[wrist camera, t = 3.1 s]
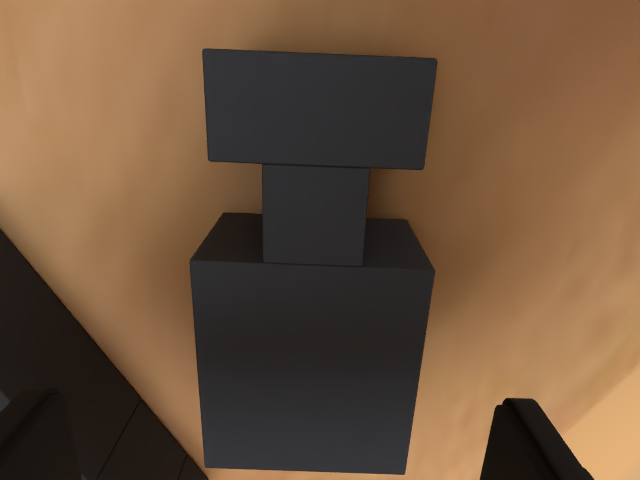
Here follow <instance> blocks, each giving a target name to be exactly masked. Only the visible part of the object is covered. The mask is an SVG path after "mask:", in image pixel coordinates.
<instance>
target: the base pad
mask: <svg viewBox="0 0 640 480" xmlns="http://www.w3.org/2000/svg"><path fill="white" fill-rule="evenodd" d="M26 387H53V388H57V389H58V391H59V393H60V395H64V396H65V397H66V399H67V403H68V408H69V414H70V419H71V424H72V429H73V435H74V440H75V445H76V451H77V456H78V461H79V466H80V472H81V477H82V480H208V479H207V477H206V476H205V475H204V474H203V473H202V471H201V470H200V469H199V468H198V467H197V465H196V464H195V463H194V462H193V461H192V459H191V458H190V457H189V456H188V455H186V452H185V451H184V450H183V449H182V448H181V446H180V445H179V444H178V443H177V442H176V441H175V439H174V438H173V437H172V436H171V435H170V433H169V432H168V431H167V430H166V429H165V427H164V426H163V425H162V424H161V423H160V421H159V420H158V419H157V418H156V417H155V415H154V414H153V413H152V412H151V411H150V409H149V408H148V407H147V406H146V405H145V403H144V402H143V401H142V400H140V397H139V396H138V394H137V393H136V392H135V391H134V390H133V388H132V387H131V386H130V385H129V384H128V382H127V381H126V380H125V379H124V378H123V376H122V375H121V374H120V373H119V372H118V370H117V369H116V368H115V367H114V366H113V364H112V363H111V362H110V361H109V360H108V358H107V357H106V356H105V355H104V354H103V352H102V351H101V350H100V349H99V348H98V346H97V345H96V344H95V343H94V342H93V340H92V339H91V338H90V337H89V336H88V334H87V333H86V332H85V331H84V330H83V328H82V327H81V326H80V325H79V324H78V322H77V321H76V320H75V319H74V318H73V316H72V315H71V314H70V313H69V312H68V311H67V309H66V308H65V307H64V306H63V305H62V303H61V302H60V301H59V300H58V299H57V297H56V296H55V295H54V294H53V293H52V291H51V290H50V289H49V288H48V287H47V285H46V284H45V283H44V282H43V281H42V279H41V278H40V277H39V276H38V275H37V273H36V272H35V271H34V270H33V269H32V267H31V266H30V265H29V264H28V263H27V261H26V260H25V259H24V258H23V257H22V255H21V254H20V253H19V252H18V251H17V249H16V248H15V247H14V246H13V245H12V243H11V242H10V241H9V240H8V239H7V237H6V236H5V235H4V234H3V233H2V231H1V230H0V412H1V411H2V410H3V409H4V408H5V407H6V406H7V405H8V404H9V403H10V401H11V400H12V399H13V398H14V397H15V396H16V395H17V394H18V393H19V392H20V391H21V390H23V389H24V388H26Z"/></svg>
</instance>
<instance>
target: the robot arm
mask: <svg viewBox="0 0 640 480" xmlns="http://www.w3.org/2000/svg"><path fill="white" fill-rule="evenodd" d="M0 480H82V477H81V472H80V466H79V461H78V456H77V451H76V445H75V440H74V435H73V429H72V424H71V419H70V414H69V408H68V403H67V399H66V397H65V396H64V395H60V393H59V391H58V389H57V388H53V387H26V388H24V389H23V390H21V391H20V392H19V393H18V394H17V395H16V396H15V397H14V398H13V399H12V400H11V401H10V403H9V404H8V405H7V406H6V407H5V408H4V409H3V410H2V411H1V412H0ZM480 480H594V479H593V477H592V476H591V475H590V473H589V472H588V471H587V470H586V469H585V468H583V467H582V466H581V464H580V463H579V462H578V460H577V459H576V457H575V456H574V454H573V453H572V452H571V450H570V449H569V447H568V446H567V444H566V443H565V442H564V441H563V439H562V437H561V436H560V434H559V433H558V432H557V430H556V429H555V427H554V426H553V424H552V423H551V422H550V420H549V419H548V417H547V416H546V414H545V413H544V412H543V410H542V409H541V407H540V406H539V404H538V403H537V402H536V401H535V400H533V399H524V398H506V399H505V400H504V401H503V403H502V405H497V406H496V408H495V411H494V416H493V420H492V425H491V430H490V434H489V439H488V444H487V448H486V453H485V458H484V462H483V467H482V472H481V476H480Z"/></svg>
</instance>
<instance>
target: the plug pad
mask: <svg viewBox="0 0 640 480" xmlns="http://www.w3.org/2000/svg"><path fill="white" fill-rule="evenodd" d="M202 55H203V73H204V92H205V111H206V130H207V149H208V160H209V161H211V162H234V163H259V164H263V165H262V204H263V214H242V213H223V214H222V215H221V217H220V218H219V220H218V221H217V223H216V224H215V225H214V227H213V228H212V230H211V231H210V232H209V234H208V235H207V237H206V238H205V240H204V241H203V242H202V244H201V245H200V247H199V248H198V250H197V251H196V252H195V254H194V255H193V257H192V258H191V260H190V275H191V288H192V302H193V315H194V329H195V342H196V355H197V369H198V382H199V396H200V409H201V423H202V436H203V449H204V463H205V467H206V468H227V469H256V470H284V471H313V472H341V473H370V474H398V475H404V474H405V470H406V464H407V457H408V450H409V443H410V437H411V430H412V423H413V416H414V410H415V403H416V396H417V389H418V383H419V376H420V369H421V362H422V356H423V349H424V342H425V335H426V329H427V322H428V315H429V308H430V302H431V295H432V288H433V281H434V275H435V270H434V268H433V266H432V264H431V262H430V261H429V259H428V257H427V255H426V253H425V252H424V250H423V248H422V246H421V244H420V243H419V241H418V239H417V237H416V236H415V234H414V232H413V230H412V228H411V227H410V225H409V223H408V221H407V220H393V219H368V218H366V212H367V200H368V188H369V176H370V169H369V168H382V169H407V170H423V169H424V165H425V157H426V149H427V141H428V133H429V125H430V117H431V109H432V101H433V93H434V86H435V78H436V70H437V59H435V58H417V57H393V56H370V55H346V54H323V53H299V52H276V51H252V50H229V49H203V51H202Z"/></svg>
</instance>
